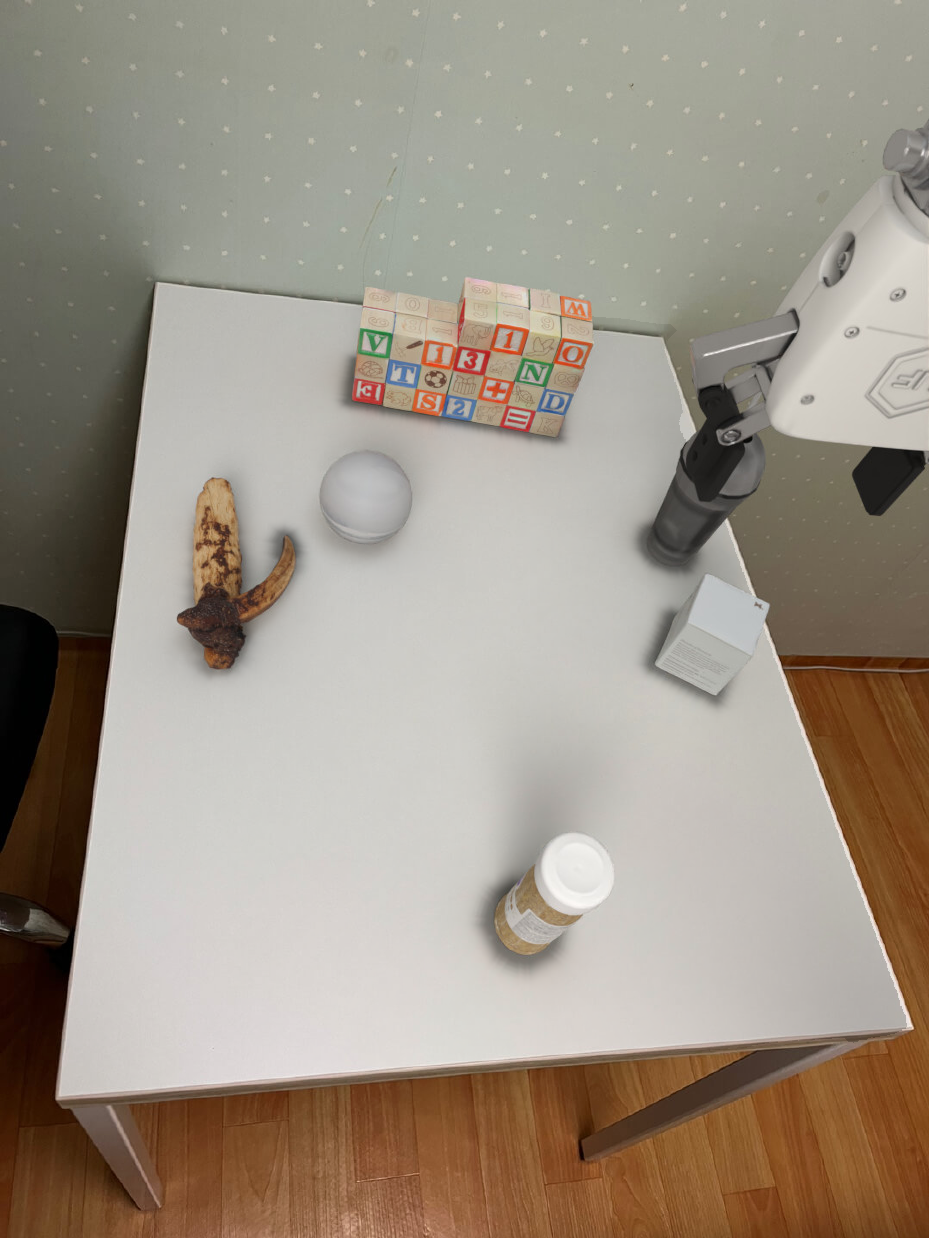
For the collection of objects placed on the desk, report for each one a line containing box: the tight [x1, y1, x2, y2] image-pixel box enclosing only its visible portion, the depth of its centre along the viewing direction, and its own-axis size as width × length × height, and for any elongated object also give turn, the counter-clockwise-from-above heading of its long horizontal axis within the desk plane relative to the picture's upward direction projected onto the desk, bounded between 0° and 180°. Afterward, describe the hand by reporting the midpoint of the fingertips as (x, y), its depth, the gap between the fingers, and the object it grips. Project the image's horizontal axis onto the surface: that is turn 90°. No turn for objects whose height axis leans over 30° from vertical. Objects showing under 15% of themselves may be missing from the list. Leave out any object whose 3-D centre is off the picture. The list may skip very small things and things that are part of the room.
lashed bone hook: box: [176, 476, 297, 670], centre depth 70 cm, size 9×5×18 cm
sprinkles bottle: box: [493, 831, 616, 956], centre depth 56 cm, size 5×5×13 cm
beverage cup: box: [646, 392, 767, 567], centre depth 75 cm, size 7×7×20 cm
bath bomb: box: [318, 449, 413, 545], centre depth 74 cm, size 8×8×8 cm
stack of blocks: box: [351, 276, 595, 438], centre depth 84 cm, size 21×6×12 cm, turn 88°
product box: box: [654, 572, 771, 697], centre depth 74 cm, size 6×6×7 cm
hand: (783, 488), depth 46 cm, fingers open, 9 cm apart
